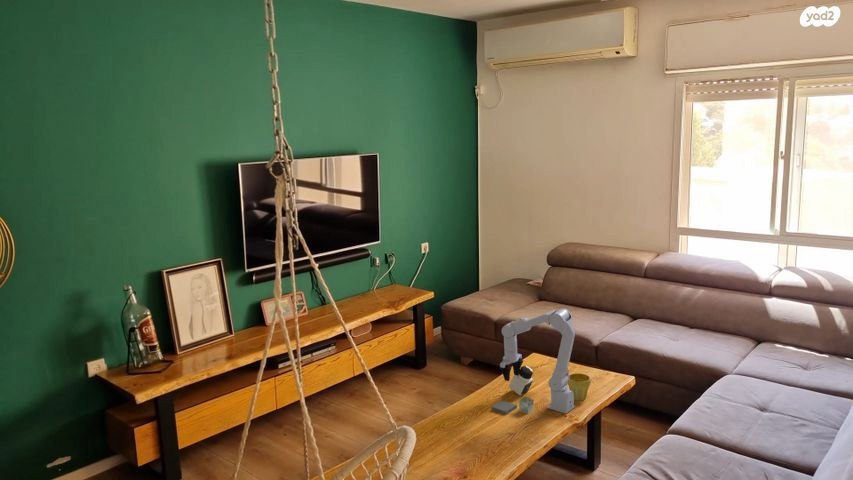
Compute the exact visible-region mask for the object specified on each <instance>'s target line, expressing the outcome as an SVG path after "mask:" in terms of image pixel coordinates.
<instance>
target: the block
mask: <svg viewBox="0 0 853 480" xmlns="http://www.w3.org/2000/svg"><path fill="white" fill-rule="evenodd" d="M490 408H491V411H493V412H496V413H499V414H502V415H506V416H507V415H509V414H510V413H511V412H514V411H515V410H517V408H518V405H517V404H514V403H511V402H508V401H505V400H499V402H497V403H495V404H493V405H491V407H490Z"/></svg>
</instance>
